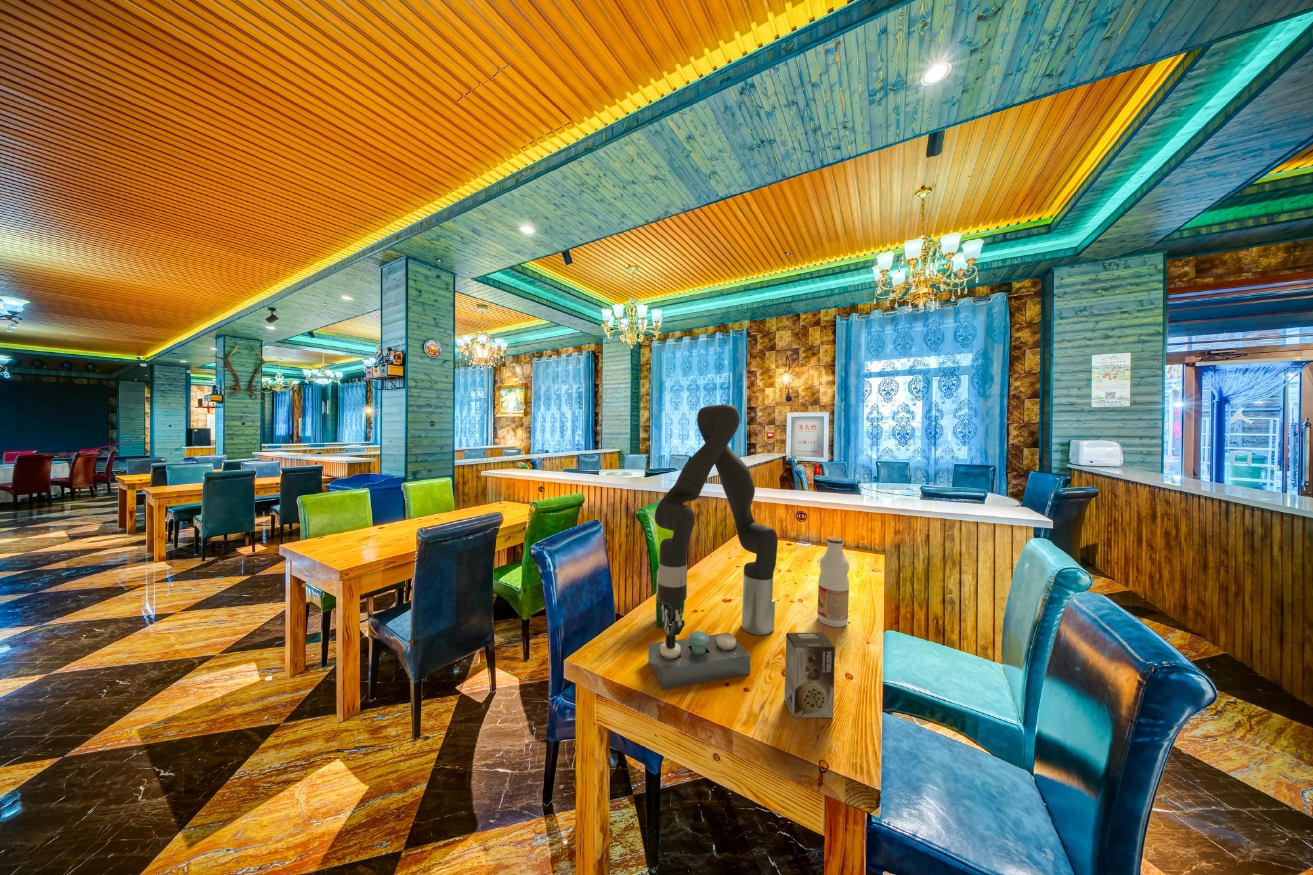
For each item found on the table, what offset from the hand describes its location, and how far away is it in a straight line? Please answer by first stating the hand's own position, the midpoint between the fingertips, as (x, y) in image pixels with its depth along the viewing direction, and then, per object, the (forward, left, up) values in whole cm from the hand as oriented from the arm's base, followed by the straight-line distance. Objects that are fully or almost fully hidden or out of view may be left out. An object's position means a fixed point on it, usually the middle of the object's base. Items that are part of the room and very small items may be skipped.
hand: (670, 646), depth 104 cm
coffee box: (-26, +21, -7) cm, 34 cm away
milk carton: (-9, -25, -7) cm, 27 cm away
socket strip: (-8, 0, -7) cm, 11 cm away
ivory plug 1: (0, 0, -6) cm, 6 cm away
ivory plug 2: (-16, 0, -6) cm, 17 cm away
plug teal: (-8, 0, -4) cm, 9 cm away
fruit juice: (-63, -13, -7) cm, 65 cm away
